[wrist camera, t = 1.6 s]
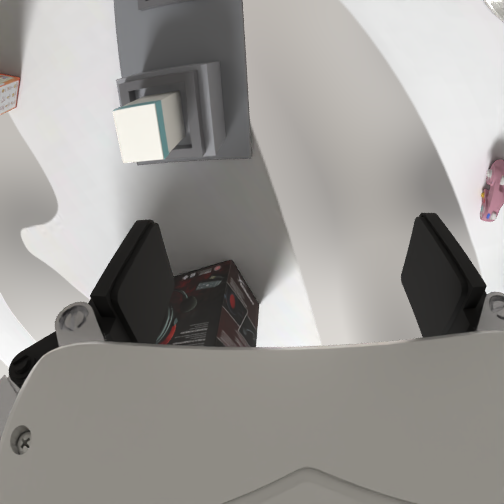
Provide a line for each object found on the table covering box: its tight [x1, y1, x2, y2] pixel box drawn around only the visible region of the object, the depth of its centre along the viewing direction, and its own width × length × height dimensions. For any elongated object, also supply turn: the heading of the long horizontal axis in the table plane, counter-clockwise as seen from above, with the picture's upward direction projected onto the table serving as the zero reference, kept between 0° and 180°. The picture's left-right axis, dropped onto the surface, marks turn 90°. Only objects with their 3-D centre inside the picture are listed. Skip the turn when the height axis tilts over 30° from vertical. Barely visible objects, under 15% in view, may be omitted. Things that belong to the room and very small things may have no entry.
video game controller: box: [480, 159, 504, 222], centre depth 35 cm, size 10×5×7 cm, turn 6°
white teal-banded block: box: [113, 91, 185, 163], centre depth 26 cm, size 5×4×7 cm
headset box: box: [156, 260, 259, 347], centre depth 44 cm, size 25×12×33 cm, turn 114°
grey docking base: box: [114, 0, 252, 165], centre depth 26 cm, size 34×16×10 cm, turn 3°
